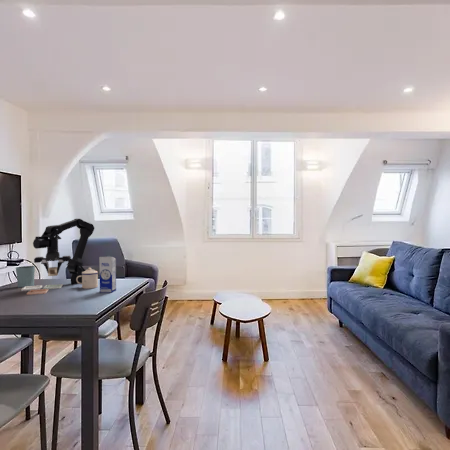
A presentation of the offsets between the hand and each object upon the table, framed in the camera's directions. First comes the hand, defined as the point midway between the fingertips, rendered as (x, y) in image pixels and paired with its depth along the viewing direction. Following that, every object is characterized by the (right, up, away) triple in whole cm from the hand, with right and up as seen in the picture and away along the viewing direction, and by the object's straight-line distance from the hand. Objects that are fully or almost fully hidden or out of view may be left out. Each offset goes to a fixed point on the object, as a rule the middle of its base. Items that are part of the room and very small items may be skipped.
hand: (53, 273), depth 202 cm
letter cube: (0, -1, 0) cm, 1 cm away
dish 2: (-1, -9, -14) cm, 17 cm away
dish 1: (-11, -9, -3) cm, 14 cm away
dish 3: (0, -9, 0) cm, 9 cm away
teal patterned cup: (-20, -9, +6) cm, 23 cm away
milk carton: (+36, -9, -10) cm, 38 cm away
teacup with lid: (+19, -9, +2) cm, 21 cm away
